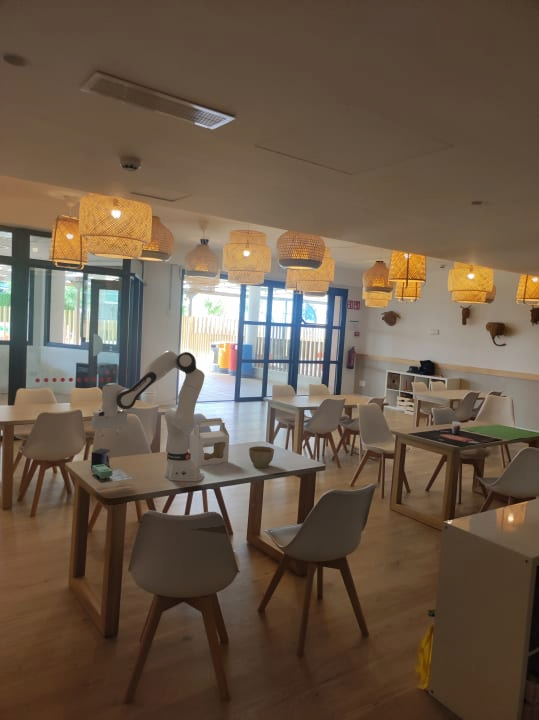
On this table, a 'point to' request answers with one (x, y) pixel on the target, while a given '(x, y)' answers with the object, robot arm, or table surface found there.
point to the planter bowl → (261, 456)
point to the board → (102, 470)
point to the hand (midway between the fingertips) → (109, 435)
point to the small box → (100, 457)
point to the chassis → (113, 476)
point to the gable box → (209, 437)
